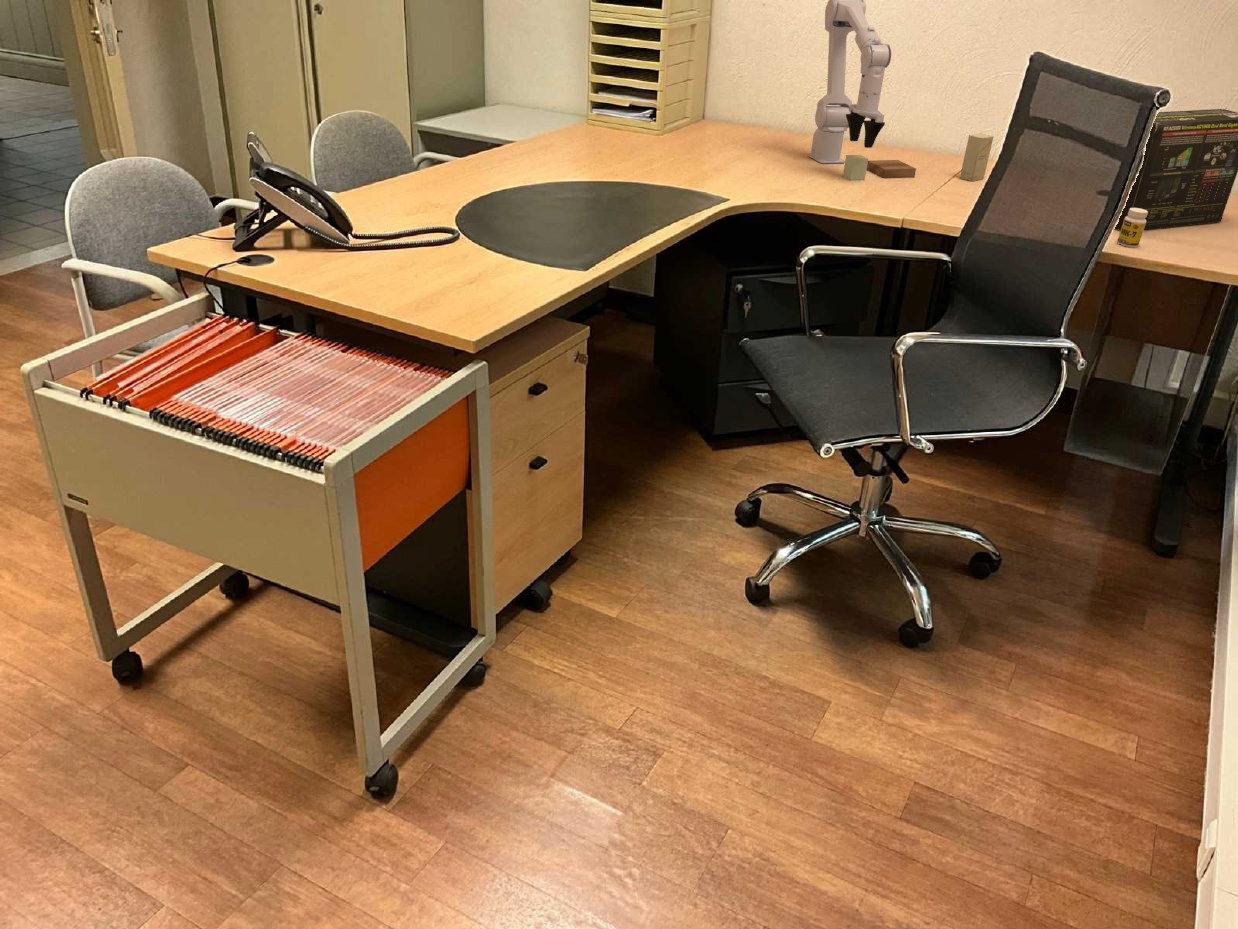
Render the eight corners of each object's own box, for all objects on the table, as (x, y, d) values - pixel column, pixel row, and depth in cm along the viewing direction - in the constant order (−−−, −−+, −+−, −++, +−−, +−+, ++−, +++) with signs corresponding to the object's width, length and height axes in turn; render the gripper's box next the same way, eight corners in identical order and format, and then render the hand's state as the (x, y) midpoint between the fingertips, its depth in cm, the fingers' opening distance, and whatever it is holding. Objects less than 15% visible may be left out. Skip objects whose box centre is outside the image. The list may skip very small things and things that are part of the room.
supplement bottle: (1113, 243, 236) (1124, 209, 232) (1121, 240, 239) (1132, 205, 235) (1133, 249, 233) (1145, 214, 229) (1141, 245, 236) (1152, 210, 232)
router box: (1186, 210, 266) (1222, 107, 252) (1222, 223, 257) (1261, 116, 243) (1088, 220, 253) (1120, 111, 239) (1122, 233, 244) (1158, 121, 230)
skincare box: (971, 181, 281) (982, 138, 275) (958, 178, 284) (968, 134, 278) (984, 179, 284) (994, 135, 278) (971, 175, 287) (980, 132, 281)
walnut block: (865, 170, 288) (867, 160, 286) (896, 170, 290) (898, 159, 289) (883, 179, 279) (885, 169, 278) (914, 179, 282) (916, 168, 281)
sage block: (842, 176, 279) (846, 154, 276) (856, 176, 280) (860, 154, 277) (850, 180, 275) (853, 158, 272) (864, 180, 276) (868, 158, 273)
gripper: (843, 87, 270) (835, 138, 277) (871, 97, 259) (862, 150, 266) (865, 87, 273) (856, 137, 279) (894, 97, 261) (884, 149, 268)
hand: (860, 144), depth 273 cm, fingers open, 7 cm apart
